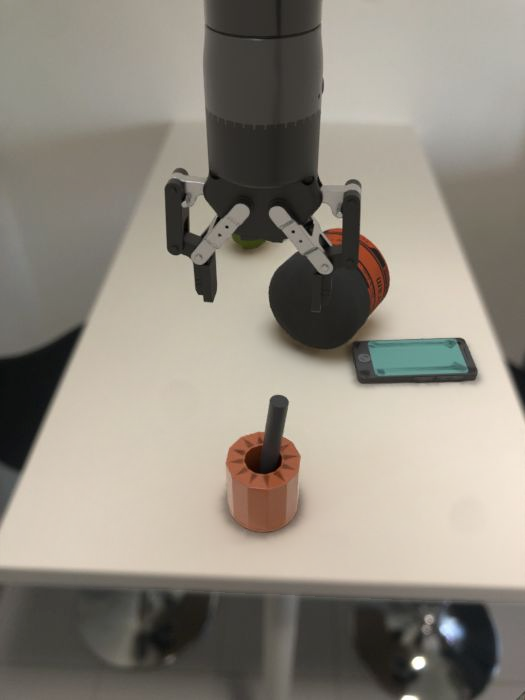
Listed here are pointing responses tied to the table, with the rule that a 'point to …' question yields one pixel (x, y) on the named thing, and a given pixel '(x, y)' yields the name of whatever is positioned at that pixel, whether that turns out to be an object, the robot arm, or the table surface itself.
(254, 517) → the pen pot
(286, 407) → the stylus
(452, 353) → the smartphone
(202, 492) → the table surface
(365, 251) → the oil filter
